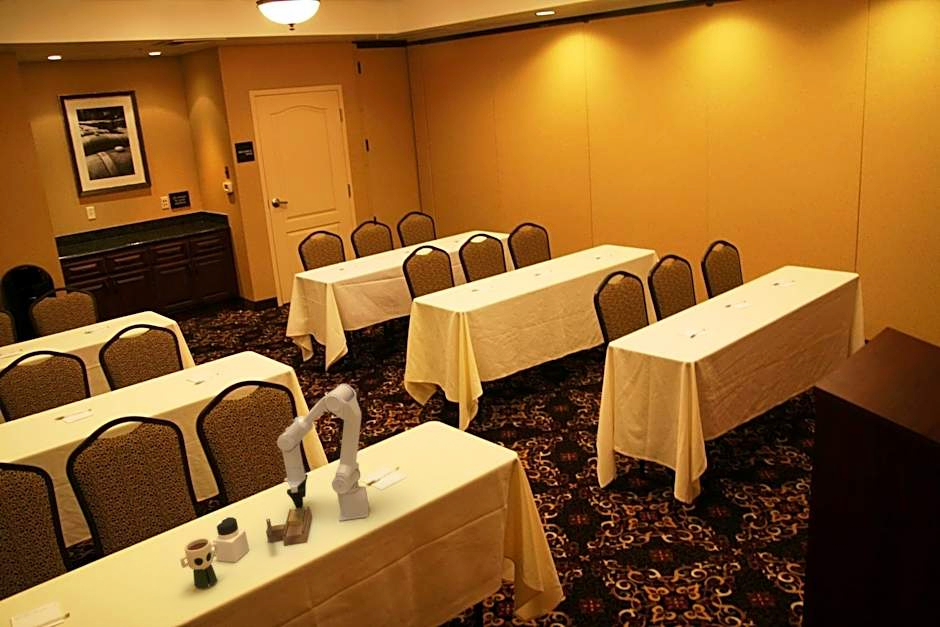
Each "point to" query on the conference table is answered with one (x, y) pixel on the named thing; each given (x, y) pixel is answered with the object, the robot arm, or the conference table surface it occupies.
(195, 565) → the character mug
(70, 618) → the conference table surface
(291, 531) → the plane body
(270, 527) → the lever
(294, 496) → the robot arm
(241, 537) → the medicine bottle
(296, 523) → the wooden block
